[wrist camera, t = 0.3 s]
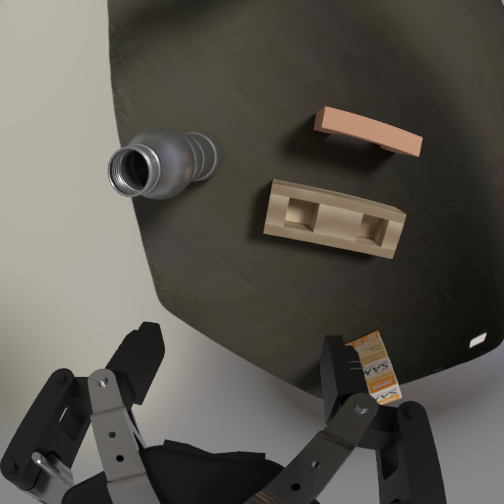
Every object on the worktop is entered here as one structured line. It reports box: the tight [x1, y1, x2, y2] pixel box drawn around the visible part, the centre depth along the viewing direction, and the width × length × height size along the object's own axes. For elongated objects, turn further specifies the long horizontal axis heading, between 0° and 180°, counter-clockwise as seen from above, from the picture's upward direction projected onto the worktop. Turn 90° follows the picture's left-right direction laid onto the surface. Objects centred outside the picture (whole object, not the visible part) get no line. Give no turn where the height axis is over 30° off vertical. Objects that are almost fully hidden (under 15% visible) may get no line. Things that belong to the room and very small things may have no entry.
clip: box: [313, 106, 422, 157], centre depth 29 cm, size 2×12×7 cm, turn 80°
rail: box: [264, 179, 406, 259], centre depth 36 cm, size 6×18×4 cm, turn 81°
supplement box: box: [344, 330, 402, 405], centre depth 40 cm, size 8×5×13 cm, turn 119°
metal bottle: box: [108, 127, 223, 200], centre depth 27 cm, size 6×7×20 cm
